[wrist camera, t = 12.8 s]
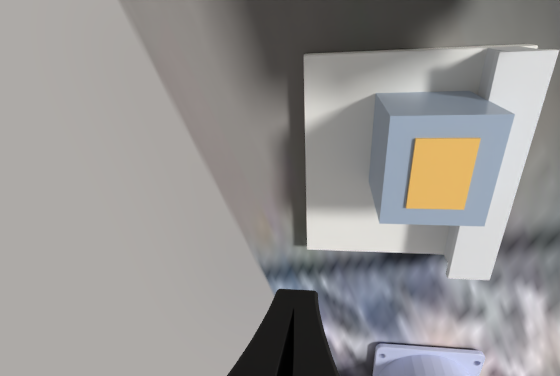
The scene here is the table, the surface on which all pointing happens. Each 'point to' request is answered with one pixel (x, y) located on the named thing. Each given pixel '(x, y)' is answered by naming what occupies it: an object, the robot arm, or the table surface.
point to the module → (436, 157)
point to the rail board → (358, 139)
